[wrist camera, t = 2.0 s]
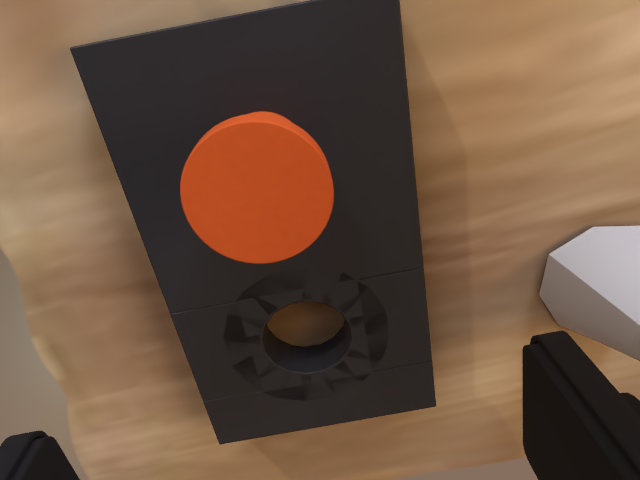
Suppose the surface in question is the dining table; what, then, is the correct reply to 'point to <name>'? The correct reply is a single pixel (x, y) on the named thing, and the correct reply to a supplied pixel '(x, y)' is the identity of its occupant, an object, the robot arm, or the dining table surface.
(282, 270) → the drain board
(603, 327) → the flask
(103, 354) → the dining table surface
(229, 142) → the stopper
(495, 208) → the dining table surface
